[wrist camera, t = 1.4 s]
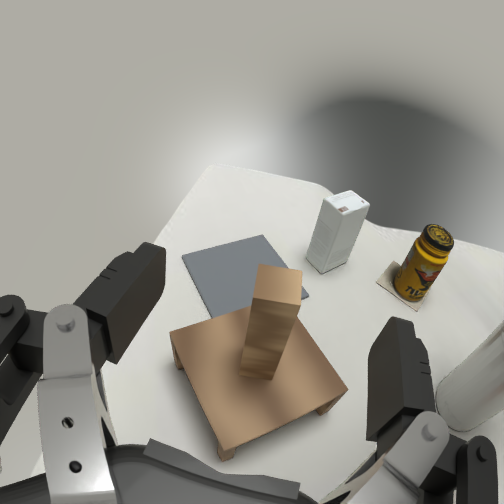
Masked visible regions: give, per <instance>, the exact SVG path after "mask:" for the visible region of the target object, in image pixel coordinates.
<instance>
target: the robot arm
mask: <svg viewBox="0 0 504 504" xmlns="http://www.w3.org/2000/svg"><path fill="white" fill-rule="evenodd" d="M165 271H166V250H165V248H163V247H160V246H157V245H154V244H151V243H147V242H144V243H143V244H141V245H140V247H139V248H138V249H137V250H136V251H135V252H134V253H131V252H125V253H123V254H121V255H120V256H118V257H116V258H114V260H112V262H111V263H110V264H109V265H108V266H107V267H106V269H104V270H103V271H102V272H101V273H100V276H98V277H97V278H96V279H95V280H94V281H93V282H92V283H91V284H90V285H89V287H88V288H87V289H86V290H85V291H84V292H83V293H82V294H81V296H80V297H79V298H78V299H77V300H76V301H75V302H74V303H73V304H64V305H60V306H57V307H55V308H53V309H52V310H51V311H50V312H49V313H46V312H39V311H34V310H28V309H26V306H25V303H24V301H23V300H22V299H21V298H20V297H19V296H16V295H6V296H2V297H0V364H1V362H2V361H3V359H4V358H5V357H6V355H7V354H8V356H7V357H6V359H5V360H4V361H3V363H2V364H1V366H0V445H1V443H2V441H3V440H4V438H5V436H6V434H7V432H8V430H9V429H10V427H11V425H12V423H13V422H14V420H15V418H16V416H17V415H18V413H19V411H20V410H21V408H22V406H23V404H24V403H25V401H26V399H27V398H28V396H29V395H30V393H31V391H32V390H33V388H34V386H35V385H36V383H37V382H38V385H37V396H38V412H39V424H40V434H41V443H42V451H43V458H44V465H45V471H46V473H43V474H40V475H37V476H34V477H31V478H28V479H25V480H22V481H19V482H16V483H13V484H10V485H6V486H3V487H0V504H453V492H454V490H456V489H457V492H456V504H498V475H497V459H496V451H495V448H494V445H493V444H492V442H491V441H490V440H489V439H488V438H486V437H484V436H475V437H474V438H472V439H471V440H469V441H468V442H467V441H465V440H462V439H460V438H458V437H456V436H454V435H452V434H450V433H449V428H448V426H450V427H451V428H452V429H454V430H457V431H462V432H463V431H469V430H471V429H473V428H475V427H477V426H478V425H480V424H482V423H483V422H485V421H486V420H488V419H490V418H491V417H493V416H494V415H496V414H498V413H499V412H501V411H502V410H504V321H503V322H502V323H501V324H500V325H499V326H498V327H497V328H496V329H495V330H494V331H493V332H492V334H491V335H490V336H489V337H488V338H487V339H486V340H485V341H484V342H483V343H482V344H481V345H480V346H479V347H478V348H477V349H476V350H475V351H474V352H473V353H472V354H471V355H470V356H468V357H467V358H466V359H465V360H464V361H463V362H462V363H461V364H460V365H459V366H458V367H457V368H455V369H454V370H453V371H452V372H451V373H450V374H449V375H448V376H447V377H445V378H444V379H443V380H442V381H441V383H440V384H439V387H438V389H437V394H436V403H437V408H438V411H439V414H440V415H439V414H437V413H436V409H435V400H434V392H433V385H432V378H431V376H430V374H431V371H430V366H429V359H428V353H427V350H426V348H425V346H424V344H423V343H422V341H421V339H419V338H416V336H415V330H414V325H413V322H411V321H408V320H404V319H401V318H397V317H391V318H390V319H389V320H388V322H387V323H386V325H385V326H384V328H383V330H382V331H381V333H380V334H379V336H378V337H377V339H376V340H375V342H374V343H373V345H372V347H371V349H370V352H369V356H368V405H367V431H366V440H367V441H374V442H377V449H376V450H374V451H373V452H372V453H371V454H370V456H369V457H368V458H367V459H366V460H365V461H364V462H363V463H362V464H361V465H360V466H359V467H358V468H357V469H356V470H355V471H354V472H353V473H352V474H351V475H350V476H349V477H348V478H347V479H346V480H345V481H344V482H343V483H342V484H341V485H340V486H339V487H337V488H336V489H335V490H334V491H332V492H331V493H329V494H328V495H327V496H326V497H324V498H323V499H322V500H321V501H319V502H318V503H317V502H316V501H314V500H313V499H312V498H311V497H309V496H307V495H306V494H304V493H302V492H300V491H299V487H300V483H298V482H293V481H288V480H283V479H278V478H274V477H269V476H265V475H235V474H223V473H220V472H218V471H216V470H214V469H213V468H211V467H209V466H208V465H206V464H204V463H203V462H201V461H199V460H198V459H196V458H194V457H193V456H191V455H190V454H188V453H187V452H184V451H181V450H179V449H176V448H173V447H171V446H168V445H166V444H163V443H161V442H158V441H156V440H153V439H151V438H150V440H149V442H148V444H147V445H138V444H126V445H118V442H117V438H116V435H115V431H114V428H113V425H112V421H111V418H110V413H109V408H108V403H107V398H106V393H105V387H104V381H103V375H102V370H101V368H102V366H103V364H104V363H105V361H106V360H107V361H110V362H112V363H114V364H116V365H117V363H118V362H119V360H120V359H121V357H122V355H123V354H124V352H125V351H126V349H127V348H128V346H129V344H130V343H131V341H132V340H133V338H134V337H135V335H136V334H137V332H138V331H139V329H140V327H141V326H142V324H143V323H144V321H145V320H146V318H147V317H148V315H149V314H150V312H151V311H152V309H153V308H154V306H155V305H156V303H157V302H158V300H159V299H160V297H161V295H162V293H163V290H164V286H165ZM42 374H43V379H40V380H39V378H40V377H41V375H42ZM1 471H2V466H1V458H0V473H1Z"/></svg>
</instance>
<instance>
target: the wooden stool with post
mask: <svg viewBox="0 0 504 504" xmlns="http://www.w3.org/2000/svg"><path fill="white" fill-rule="evenodd" d="M301 290H302V271H300V270H294V269H288V268H282V267H276V266H270V265H265V264H259V265H258V270H257V276H256V282H255V287H254V293H253V298H252V304H251V306H248V307H245V308H242V309H239V310H236V311H233V312H230V313H227V314H224V315H221V316H218V317H215V318H212V319H209V320H206V321H203V322H200V323H196V324H193V325H190V326H187V327H184V328H181V329H177V330H174V331H171V332H169V333H170V339H171V344H172V350H173V355H174V360H175V363H176V366H177V368H178V369H181V368H184V370H185V372H186V374H187V376H188V379H189V381H190V383H191V385H192V387H193V390H194V392H195V394H196V396H197V398H198V400H199V403H200V405H201V407H202V409H203V411H204V413H205V415H206V417H207V419H208V421H209V423H210V425H211V427H212V429H213V431H214V433H215V435H216V437H217V439H218V450H217V453H218V455H219V457H220V459H221V461H222V462H224V461H226V460H229V459H231V458H233V456H234V453H235V450H236V447H237V446H240V445H242V444H244V443H247V442H249V441H251V440H254V439H256V438H258V437H260V436H263V435H265V434H267V433H269V432H271V431H273V430H275V429H278V428H280V427H282V426H284V425H286V424H288V423H290V422H292V421H294V420H296V419H298V418H300V417H302V416H304V415H306V414H307V413H309V412H311V411H313V410H315V409H316V411H317V412H318V414H319V415H320V416H321V415H322V414H324V413H326V412H328V411H329V410H330V409H331V408H332V407H333V406H334V405H335V404H336V403H337V401H338V400H339V399H340V398H341V397H342V396H343V395H344V394H345V393H346V392H347V391H348V388H347V387H346V385H345V384H344V383H343V381H342V380H341V378H340V377H339V375H338V374H337V373H336V371H335V370H334V368H333V367H332V365H331V364H330V363H329V361H328V360H327V358H326V357H325V356H324V354H323V353H322V351H321V350H320V348H319V347H318V346H317V344H316V343H315V341H314V340H313V339H312V337H311V336H310V334H309V333H308V331H307V330H306V329H305V327H304V326H303V324H302V323H301V322H300V320H299V319H298V317H297V314H298V312H299V309H300V306H301Z"/></svg>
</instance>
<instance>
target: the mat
mask: <svg viewBox="0 0 504 504" xmlns="http://www.w3.org/2000/svg"><path fill="white" fill-rule="evenodd" d="M182 258H183V261H184V263H185V265H186V267H187V269H188V271H189V273H190V275H191V277H192V279H193V281H194V283H195V285H196V287H197V289H198V291H199V293H200V295H201V297H202V299H203V301H204V303H205V305H206V307H207V309H208V311H209V313H210V315H211V317H212V318H215V317H218V316H221V315H224V314H227V313H230V312H233V311H236V310H239V309H242V308H245V307H248V306H251V304H252V298H253V293H254V287H255V282H256V276H257V270H258V265H259V264H265V265H270V266H276V267H282V268H288V267H287V266H286V264H285V263H284V262H283V260H282V259H281V258H280V256H279V255H278V254H277V253H276V251H275V250H274V249H273V247H272V246H271V245H270V244H269V242H268V241H267V240H266V238H265V237H264V236H263V235H259V236H255V237H251V238H247V239H243V240H239V241H235V242H232V243H228V244H224V245H220V246H216V247H212V248H208V249H204V250H201V251H197V252H193V253H189V254H185V255H182ZM288 269H289V268H288ZM307 297H309V294H308V293H307V292H306V290H305V289H304V288H303V286H302V290H301V300H302V299H304V298H307Z"/></svg>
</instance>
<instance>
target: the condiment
mask: <svg viewBox="0 0 504 504" xmlns="http://www.w3.org/2000/svg"><path fill="white" fill-rule="evenodd" d="M453 245H454V240H453V238H452V236H451V235H450V233H449V232H448V231H446V230H445V229H444V228H442V227H441V226H439V225H434V224H430V225H427V226H426V227H425V228H424V230H423V232H422V233H421V235H420V237H418V238H417V239H416V240H415V242H414V244H413V246H412V248H411V249H410V251H409V253H408V255H407V257H406V259H405V261H404V262H403V264H402V266H400V265H399V264H398V263H396V262H395V261H393V262H392V263H391V264H390V266H389V267H388V268H387V269H386V271H385V272H384V273H383V274H382V275H381V277H380V278H379V279H378V280H377V281H376V282H377V283H378V284H380V285H381V286H382V287H384V288H386V289H387V290H388V291H389V292H391V293H392V294H394V295H395V296H396V297H397V298H399V299H400V300H402V301H403V302H404V303H406V304H407V305H408V306H410V307H411V308H413V309H414V310H416V311H418V309H419V308H420V306H421V304H422V302H423V301H424V299H425V297H426V295H427V294H428V292H429V290H430V288H431V285H432V284H433V282H434V281H435V279H436V278H437V276H438V275H439V273H440V272H441V270H442V268H443V267H444V265H445V264H446V262H447V260H448V255H449V253H450V251H451V249H452V248H453ZM390 282H391V283H390ZM391 284H392V285H391Z"/></svg>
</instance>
